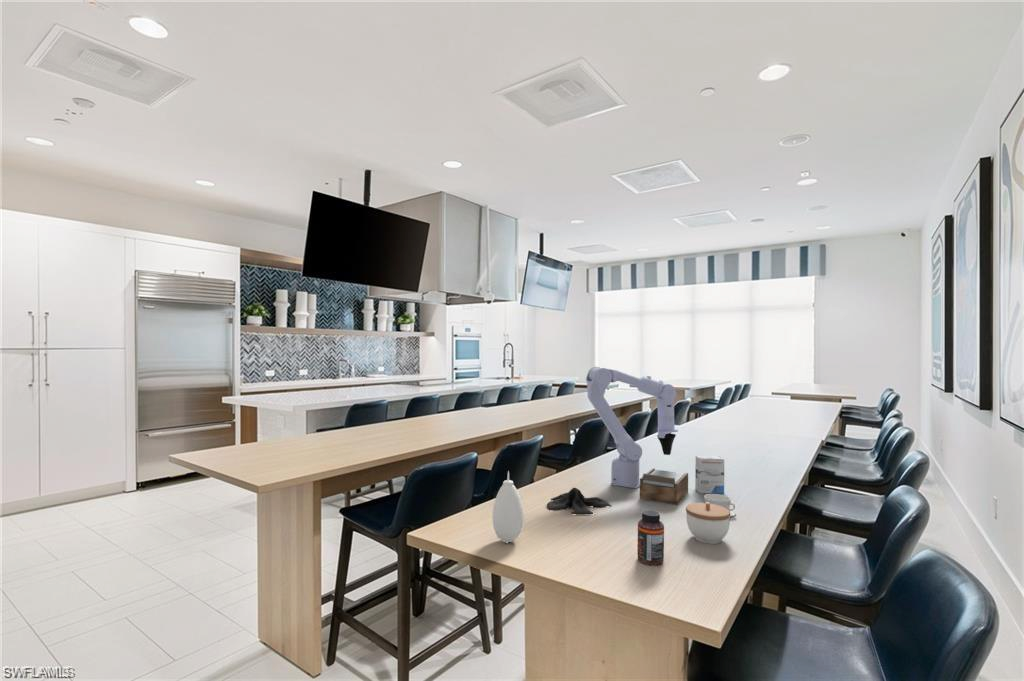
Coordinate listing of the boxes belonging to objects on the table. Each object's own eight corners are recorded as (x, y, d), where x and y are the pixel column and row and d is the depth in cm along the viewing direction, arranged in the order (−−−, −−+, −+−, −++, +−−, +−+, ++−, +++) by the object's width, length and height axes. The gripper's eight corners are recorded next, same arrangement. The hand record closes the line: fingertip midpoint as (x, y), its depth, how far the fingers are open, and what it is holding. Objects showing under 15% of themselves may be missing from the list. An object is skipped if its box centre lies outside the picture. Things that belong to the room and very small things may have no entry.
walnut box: (639, 498, 164) (639, 478, 164) (652, 486, 178) (652, 468, 178) (677, 505, 158) (677, 484, 158) (688, 492, 172) (688, 473, 172)
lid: (642, 482, 164) (643, 474, 164) (655, 472, 177) (655, 464, 177) (673, 487, 159) (673, 478, 159) (684, 476, 172) (684, 468, 172)
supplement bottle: (633, 555, 120) (634, 508, 120) (658, 555, 121) (658, 507, 121) (642, 567, 114) (642, 517, 114) (667, 566, 115) (668, 516, 115)
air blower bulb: (493, 535, 132) (494, 466, 132) (523, 536, 132) (523, 467, 132) (491, 547, 124) (491, 474, 124) (522, 548, 124) (523, 475, 124)
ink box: (720, 489, 175) (720, 455, 175) (724, 494, 170) (724, 459, 170) (694, 488, 176) (694, 455, 176) (698, 493, 171) (698, 458, 171)
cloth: (616, 503, 161) (616, 484, 161) (596, 522, 145) (597, 500, 145) (552, 493, 172) (552, 474, 172) (527, 508, 155) (527, 488, 155)
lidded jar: (731, 550, 124) (731, 512, 124) (685, 543, 128) (685, 506, 128) (728, 534, 134) (729, 499, 134) (686, 529, 138) (686, 494, 138)
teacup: (694, 513, 151) (694, 497, 151) (706, 505, 159) (707, 490, 159) (728, 521, 145) (729, 504, 145) (740, 512, 152) (740, 497, 152)
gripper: (672, 420, 174) (673, 459, 174) (682, 414, 186) (683, 451, 187) (651, 419, 178) (652, 457, 178) (662, 413, 190) (664, 449, 190)
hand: (667, 454), depth 182 cm, fingers closed
